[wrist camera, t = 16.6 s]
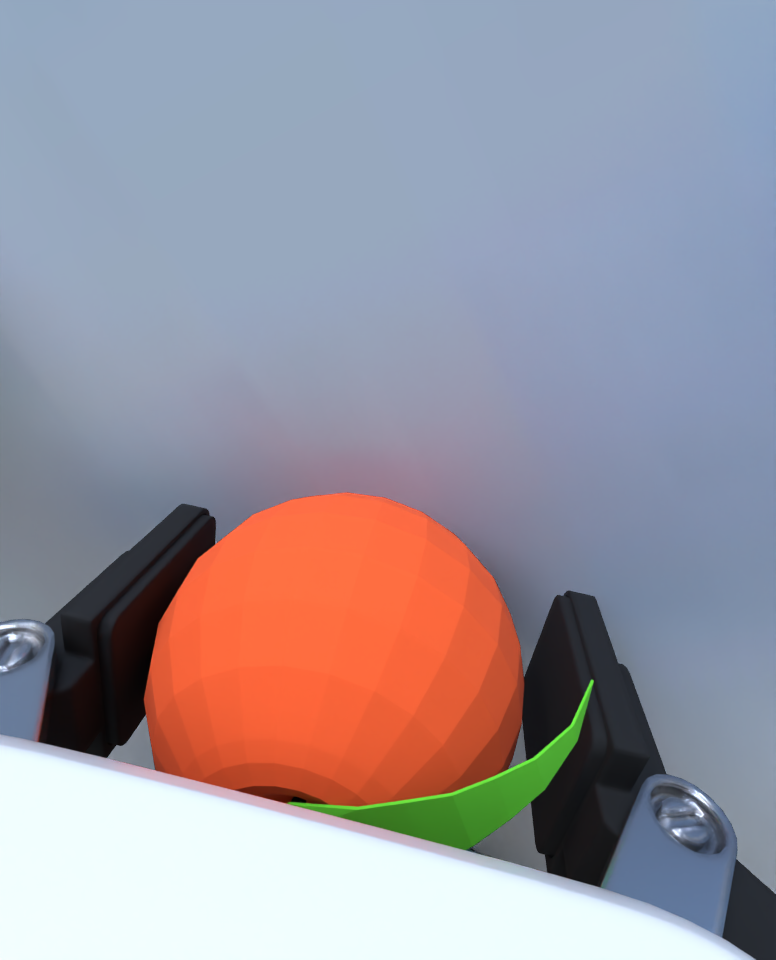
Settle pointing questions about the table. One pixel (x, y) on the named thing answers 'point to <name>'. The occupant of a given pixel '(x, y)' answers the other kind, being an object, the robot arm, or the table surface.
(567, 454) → the table surface
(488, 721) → the clementine
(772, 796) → the table surface
